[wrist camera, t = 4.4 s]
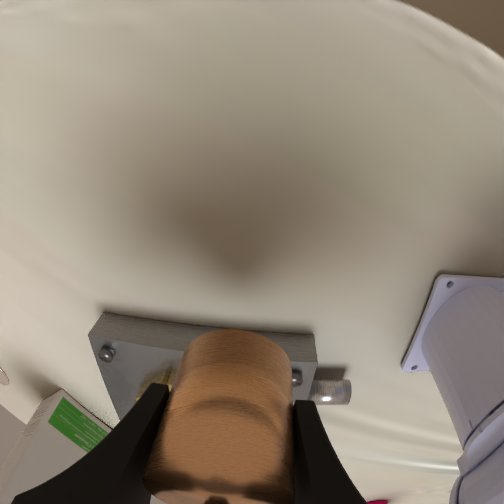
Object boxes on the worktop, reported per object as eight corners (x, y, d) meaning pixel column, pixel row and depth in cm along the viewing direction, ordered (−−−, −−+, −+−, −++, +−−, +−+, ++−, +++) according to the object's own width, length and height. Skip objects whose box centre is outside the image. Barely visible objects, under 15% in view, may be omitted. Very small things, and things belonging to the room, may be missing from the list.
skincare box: (121, 434, 27) (78, 555, 13) (93, 441, 29) (53, 543, 15) (59, 385, 24) (-7, 508, 10) (38, 398, 26) (-17, 500, 12)
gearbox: (358, 336, 19) (371, 377, 16) (321, 434, 24) (324, 468, 21) (103, 312, 20) (79, 346, 16) (134, 414, 25) (122, 445, 21)
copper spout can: (179, 321, 11) (116, 485, 5) (301, 336, 11) (314, 513, 5) (183, 396, 13) (147, 527, 7) (281, 409, 13) (279, 545, 7)
